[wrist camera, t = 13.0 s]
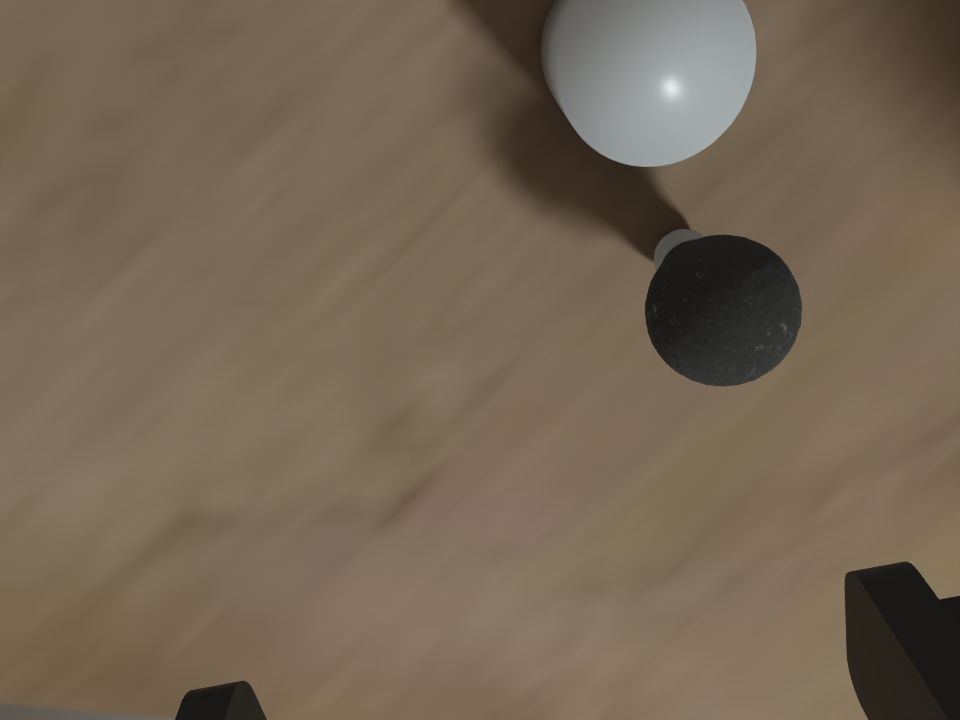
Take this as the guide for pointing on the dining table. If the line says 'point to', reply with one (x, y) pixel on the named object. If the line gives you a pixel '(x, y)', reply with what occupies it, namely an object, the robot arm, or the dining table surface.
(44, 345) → the dining table surface
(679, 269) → the light bulb
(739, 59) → the cylinder
